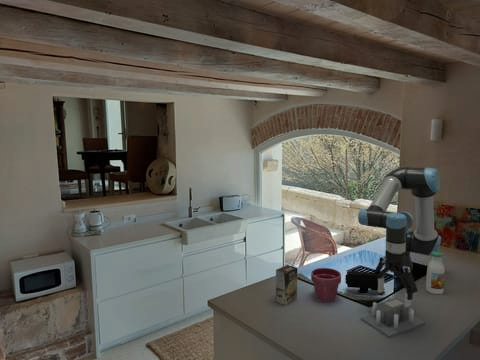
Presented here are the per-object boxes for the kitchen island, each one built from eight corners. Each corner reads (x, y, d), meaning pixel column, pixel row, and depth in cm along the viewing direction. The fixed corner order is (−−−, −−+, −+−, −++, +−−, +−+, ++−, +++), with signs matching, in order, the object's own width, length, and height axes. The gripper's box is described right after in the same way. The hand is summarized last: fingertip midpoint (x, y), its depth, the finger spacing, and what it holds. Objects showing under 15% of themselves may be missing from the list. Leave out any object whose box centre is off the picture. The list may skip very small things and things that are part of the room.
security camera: (385, 297, 168) (386, 277, 167) (346, 294, 172) (346, 275, 171) (382, 290, 175) (383, 272, 174) (344, 288, 179) (345, 269, 177)
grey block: (396, 312, 152) (397, 297, 151) (408, 319, 147) (408, 303, 146) (376, 319, 147) (376, 304, 146) (387, 326, 142) (388, 310, 141)
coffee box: (286, 305, 162) (285, 273, 160) (275, 301, 167) (275, 269, 165) (297, 299, 169) (297, 267, 167) (287, 294, 173) (287, 264, 171)
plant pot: (316, 288, 179) (316, 265, 177) (343, 294, 172) (344, 270, 170) (307, 300, 167) (307, 275, 165) (336, 307, 160) (336, 281, 158)
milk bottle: (423, 291, 173) (425, 253, 170) (428, 286, 179) (430, 249, 176) (441, 296, 168) (443, 256, 165) (445, 290, 173) (447, 252, 171)
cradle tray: (395, 307, 158) (395, 293, 157) (425, 324, 145) (426, 308, 144) (360, 319, 149) (361, 304, 148) (388, 337, 136) (389, 321, 135)
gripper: (365, 243, 152) (364, 288, 156) (415, 263, 130) (413, 315, 133) (378, 240, 155) (377, 284, 159) (429, 259, 133) (426, 310, 136)
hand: (393, 298), depth 146 cm, fingers open, 13 cm apart
